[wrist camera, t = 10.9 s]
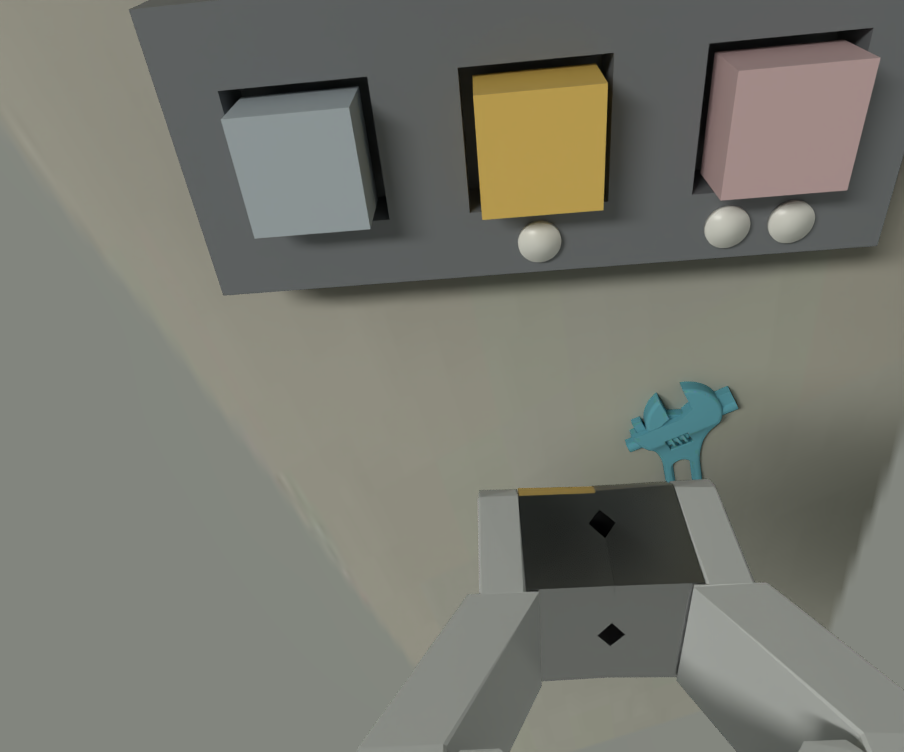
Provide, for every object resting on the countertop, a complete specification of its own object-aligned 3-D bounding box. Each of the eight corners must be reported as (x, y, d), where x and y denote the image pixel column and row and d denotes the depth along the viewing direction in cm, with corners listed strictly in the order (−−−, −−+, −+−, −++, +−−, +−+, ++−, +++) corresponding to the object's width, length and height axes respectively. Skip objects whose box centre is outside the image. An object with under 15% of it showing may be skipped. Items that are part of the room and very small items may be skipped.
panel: (245, 255, 27) (221, 298, 24) (166, -9, 22) (126, 11, 19) (838, 208, 25) (880, 248, 23) (911, -88, 20) (976, -79, 18)
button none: (270, 209, 23) (254, 238, 22) (241, 97, 21) (220, 119, 19) (377, 200, 23) (370, 229, 21) (358, 85, 21) (349, 107, 19)
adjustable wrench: (618, 404, 30) (739, 380, 29) (615, 390, 31) (732, 366, 30) (656, 597, 38) (751, 582, 37) (652, 582, 39) (745, 567, 38)
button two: (700, 173, 22) (720, 200, 21) (714, 51, 20) (738, 70, 18) (816, 163, 22) (847, 190, 20) (843, 39, 20) (880, 57, 18)
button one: (480, 191, 23) (482, 220, 21) (472, 74, 21) (473, 95, 19) (592, 182, 23) (603, 210, 21) (595, 63, 20) (607, 82, 19)
